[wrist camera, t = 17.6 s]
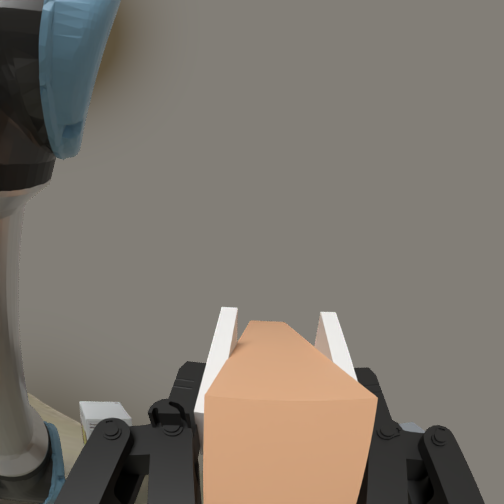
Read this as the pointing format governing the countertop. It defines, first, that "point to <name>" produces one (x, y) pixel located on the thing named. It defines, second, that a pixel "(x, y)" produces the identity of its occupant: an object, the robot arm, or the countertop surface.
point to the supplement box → (100, 415)
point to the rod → (284, 424)
